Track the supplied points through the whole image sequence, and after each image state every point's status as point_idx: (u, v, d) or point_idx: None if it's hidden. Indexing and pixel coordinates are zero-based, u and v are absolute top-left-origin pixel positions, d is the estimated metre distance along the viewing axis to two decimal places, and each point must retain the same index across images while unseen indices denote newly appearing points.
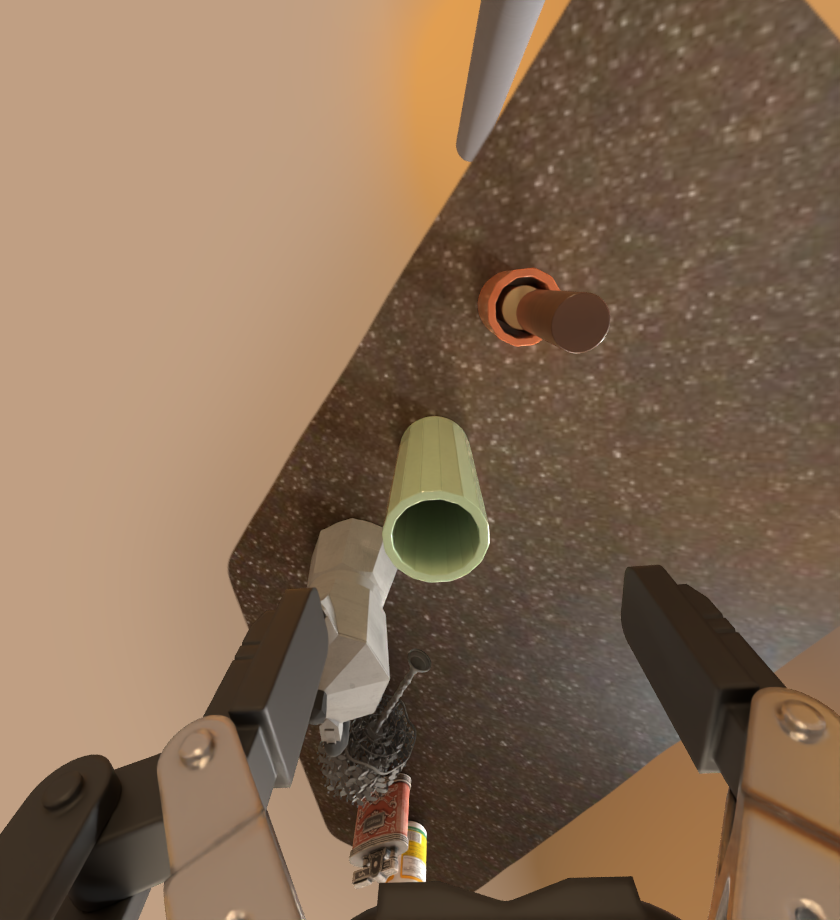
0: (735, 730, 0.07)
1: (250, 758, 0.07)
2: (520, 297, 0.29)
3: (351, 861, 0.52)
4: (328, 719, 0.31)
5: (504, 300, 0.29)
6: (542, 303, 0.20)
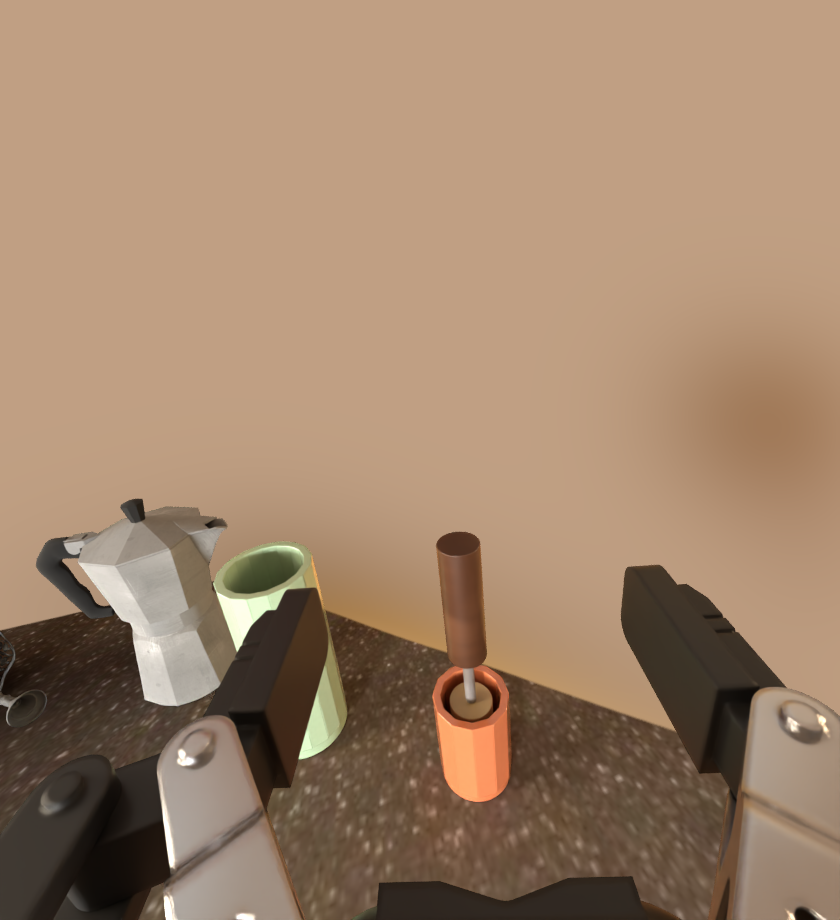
0: (735, 730, 0.07)
1: (250, 758, 0.07)
2: (479, 694, 0.28)
3: None
4: (97, 535, 0.36)
5: None
6: None
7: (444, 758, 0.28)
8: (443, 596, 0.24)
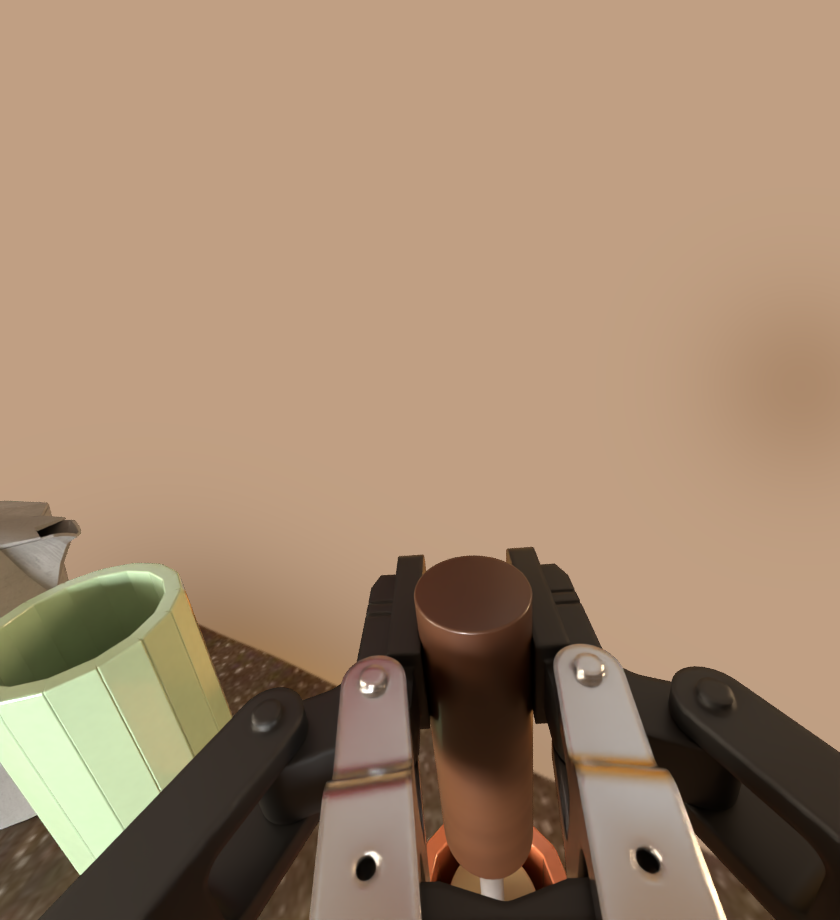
0: (549, 681, 0.08)
1: (412, 694, 0.08)
2: (511, 889, 0.14)
3: None
4: None
5: None
6: None
7: None
8: (433, 720, 0.10)
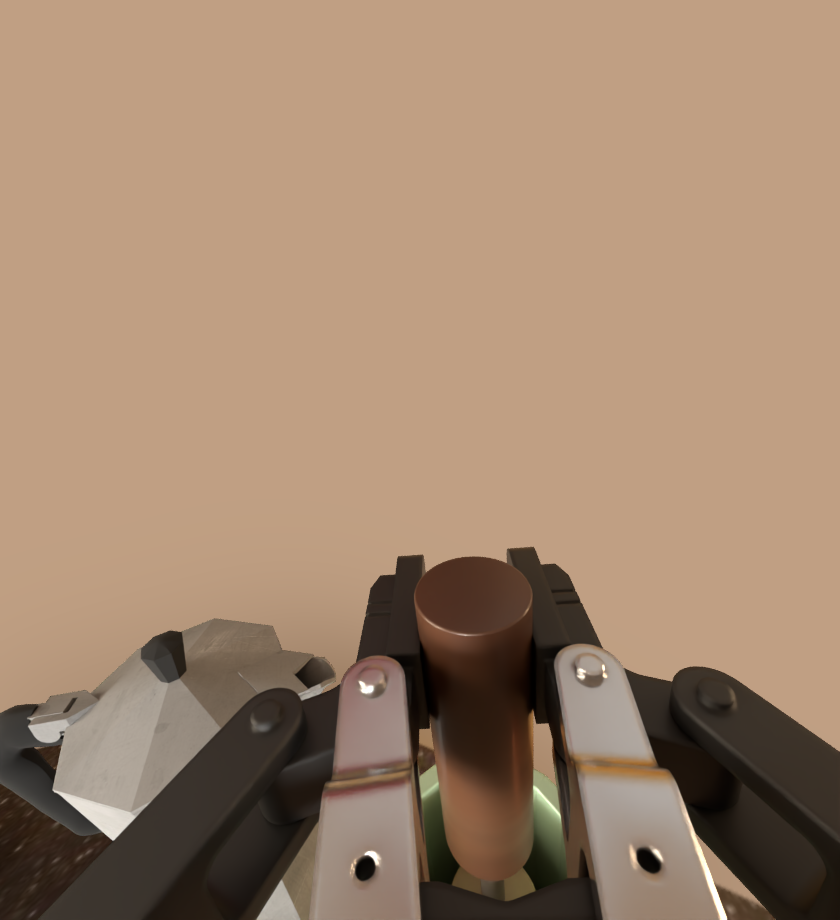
0: (550, 681, 0.08)
1: (412, 694, 0.08)
2: (512, 890, 0.14)
3: None
4: (94, 702, 0.19)
5: None
6: None
7: None
8: (433, 721, 0.10)
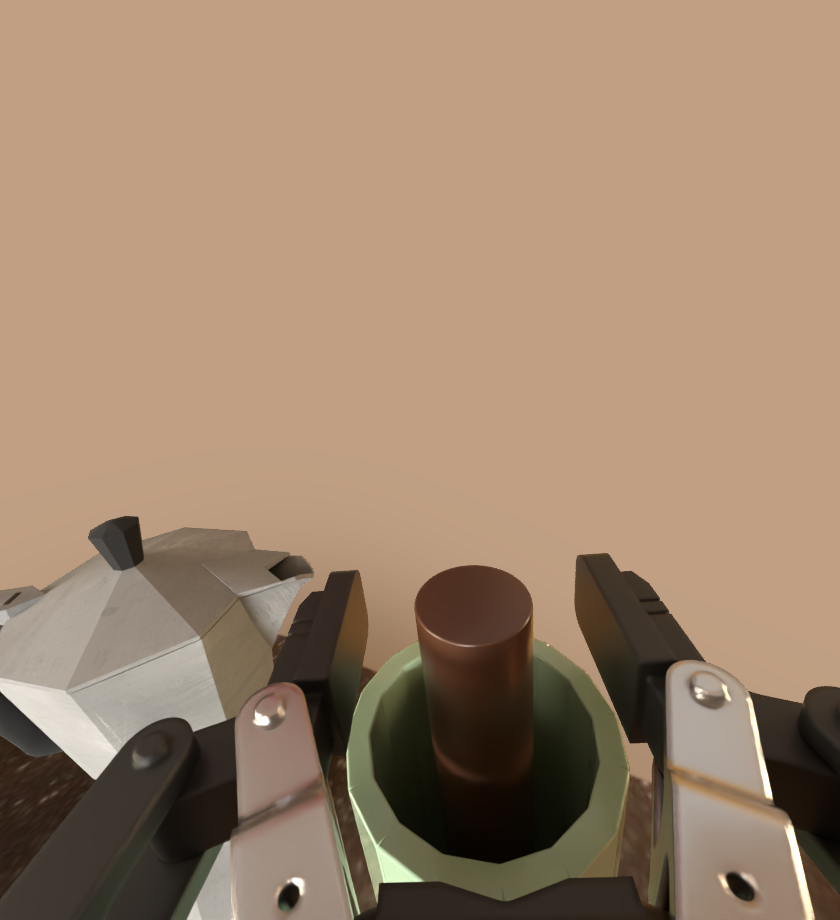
0: (655, 700, 0.08)
1: (316, 723, 0.08)
2: None
3: None
4: (40, 595, 0.16)
5: None
6: None
7: None
8: (434, 730, 0.10)
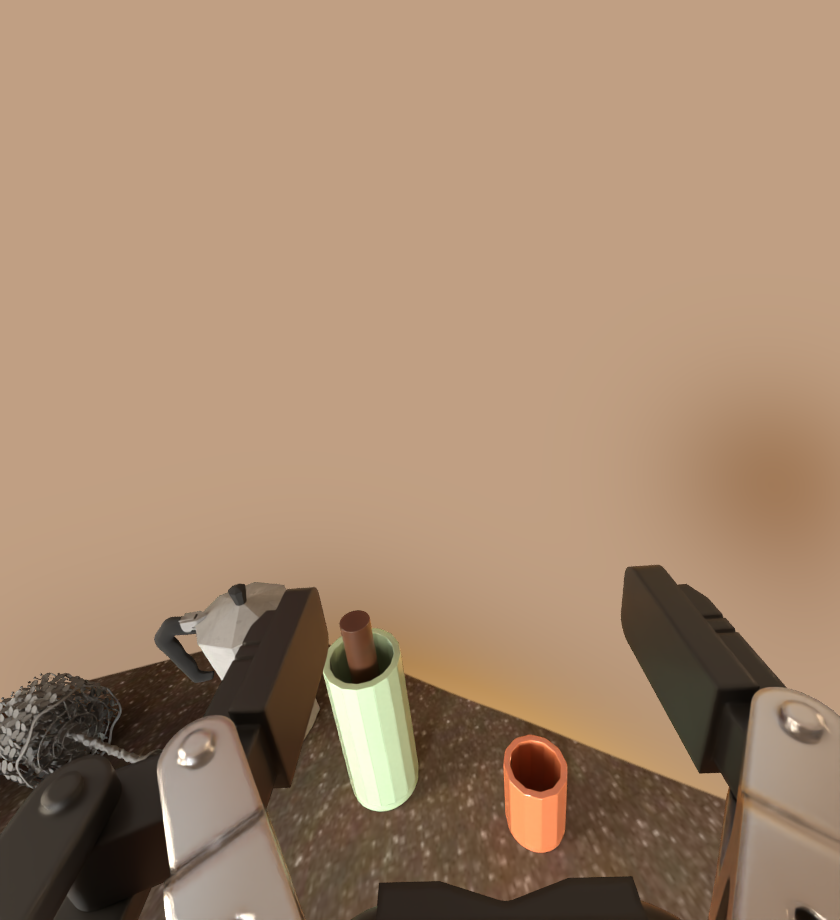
0: (735, 730, 0.07)
1: (250, 758, 0.07)
2: None
3: None
4: (206, 615, 0.42)
5: None
6: None
7: (512, 816, 0.35)
8: (346, 656, 0.35)
